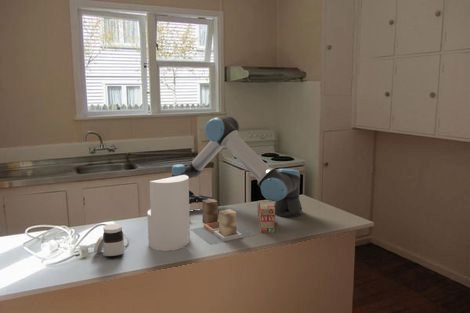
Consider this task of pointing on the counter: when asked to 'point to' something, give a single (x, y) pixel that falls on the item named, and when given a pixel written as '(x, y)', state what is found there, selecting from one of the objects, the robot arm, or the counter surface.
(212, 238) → the board
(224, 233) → the oak pillar
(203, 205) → the walnut pillar
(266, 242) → the counter surface
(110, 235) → the spread jar
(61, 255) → the counter surface
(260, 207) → the stack of blocks
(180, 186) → the cylinder
